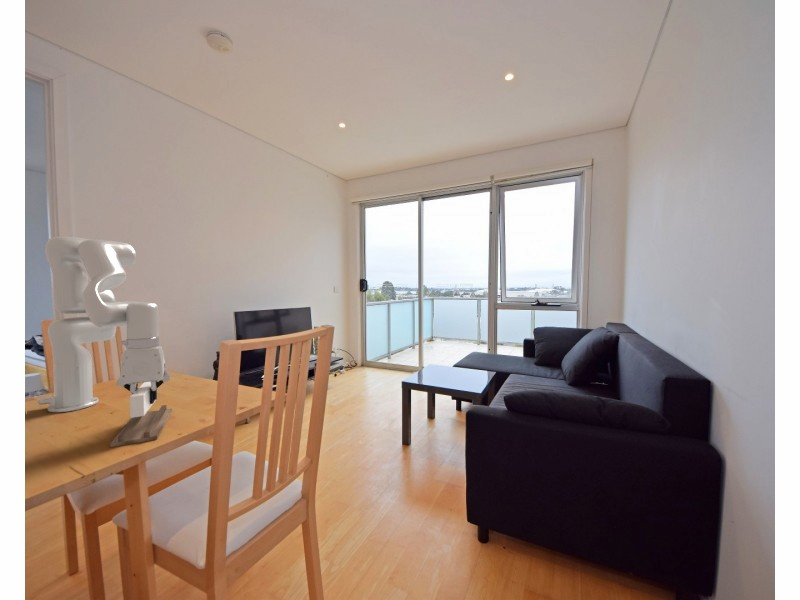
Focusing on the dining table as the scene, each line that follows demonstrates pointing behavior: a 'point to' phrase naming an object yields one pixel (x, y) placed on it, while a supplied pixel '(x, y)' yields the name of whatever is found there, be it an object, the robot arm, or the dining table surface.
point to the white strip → (140, 400)
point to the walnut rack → (143, 427)
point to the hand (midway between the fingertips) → (144, 402)
